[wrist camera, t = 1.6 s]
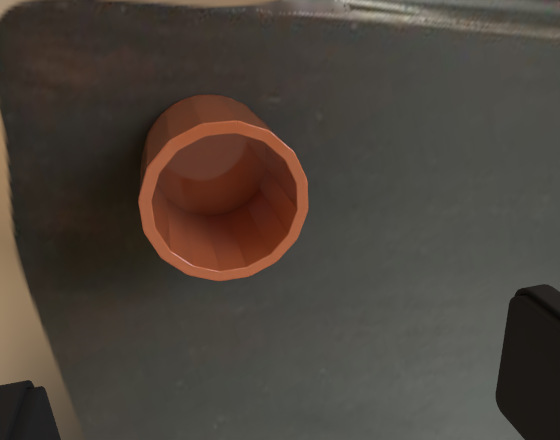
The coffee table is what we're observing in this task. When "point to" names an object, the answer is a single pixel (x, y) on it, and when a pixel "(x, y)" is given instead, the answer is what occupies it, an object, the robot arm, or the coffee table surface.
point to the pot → (219, 189)
